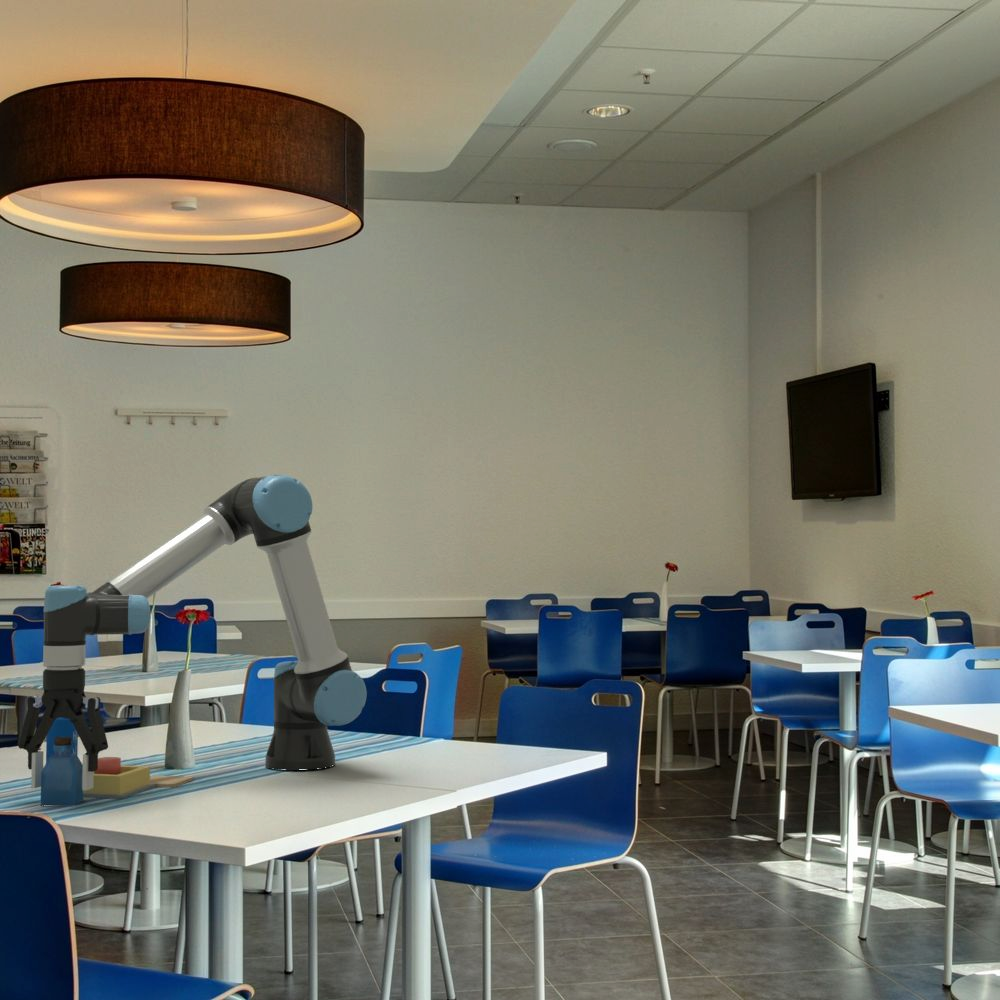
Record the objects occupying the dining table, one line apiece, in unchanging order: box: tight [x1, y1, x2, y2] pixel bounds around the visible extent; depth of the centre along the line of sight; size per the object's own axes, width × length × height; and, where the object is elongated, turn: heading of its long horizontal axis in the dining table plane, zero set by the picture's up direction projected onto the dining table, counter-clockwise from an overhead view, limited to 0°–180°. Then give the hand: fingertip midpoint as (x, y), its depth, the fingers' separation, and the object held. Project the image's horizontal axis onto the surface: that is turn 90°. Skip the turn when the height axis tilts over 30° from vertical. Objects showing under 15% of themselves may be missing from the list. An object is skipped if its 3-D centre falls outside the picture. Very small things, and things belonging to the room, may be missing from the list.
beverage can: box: [45, 715, 79, 763], centre depth 284 cm, size 6×6×12 cm
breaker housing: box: [83, 765, 157, 800], centre depth 255 cm, size 14×14×4 cm
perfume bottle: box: [40, 737, 84, 807], centre depth 243 cm, size 6×6×12 cm
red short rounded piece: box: [94, 756, 122, 775], centre depth 255 cm, size 5×5×3 cm
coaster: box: [150, 774, 195, 788], centre depth 264 cm, size 9×9×1 cm
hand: (62, 788), depth 243 cm, fingers open, 10 cm apart
